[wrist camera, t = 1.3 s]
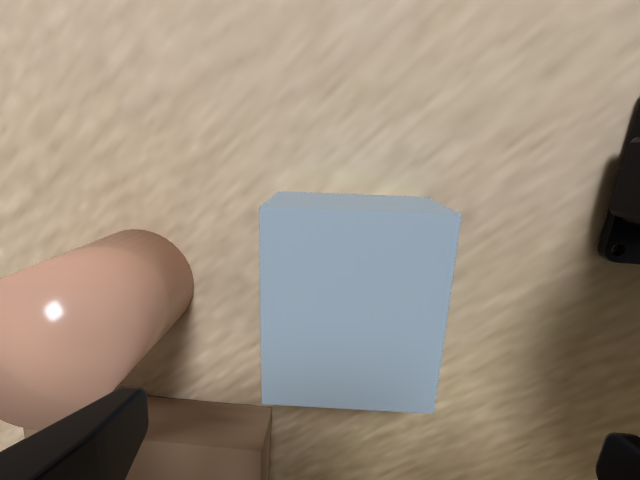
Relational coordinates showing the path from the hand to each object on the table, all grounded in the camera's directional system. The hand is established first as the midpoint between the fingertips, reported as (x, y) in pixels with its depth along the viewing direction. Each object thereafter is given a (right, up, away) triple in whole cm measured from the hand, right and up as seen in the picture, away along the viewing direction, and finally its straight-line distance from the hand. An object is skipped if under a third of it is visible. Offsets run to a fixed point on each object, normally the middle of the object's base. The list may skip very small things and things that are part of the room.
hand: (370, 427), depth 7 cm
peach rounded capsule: (-9, +2, +9) cm, 12 cm away
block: (0, +2, +8) cm, 9 cm away
